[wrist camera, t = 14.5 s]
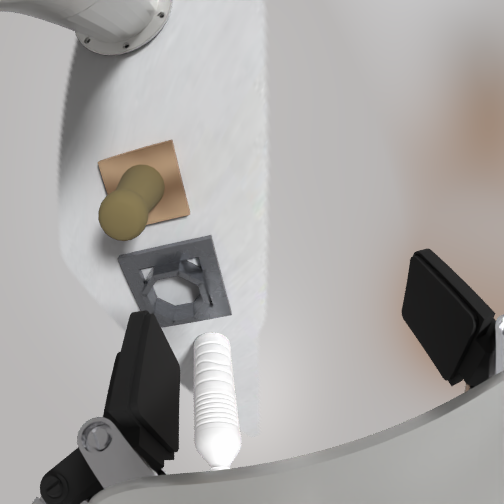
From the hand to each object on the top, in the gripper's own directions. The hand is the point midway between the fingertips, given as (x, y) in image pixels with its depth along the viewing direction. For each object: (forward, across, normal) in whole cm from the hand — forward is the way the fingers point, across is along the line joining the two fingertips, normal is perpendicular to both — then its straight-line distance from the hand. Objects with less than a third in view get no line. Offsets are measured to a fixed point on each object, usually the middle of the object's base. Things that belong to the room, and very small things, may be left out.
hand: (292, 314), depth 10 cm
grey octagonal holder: (+30, +12, +18) cm, 37 cm away
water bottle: (+31, +10, +33) cm, 46 cm away
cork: (+30, +12, +2) cm, 32 cm away
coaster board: (+30, +12, +2) cm, 33 cm away
